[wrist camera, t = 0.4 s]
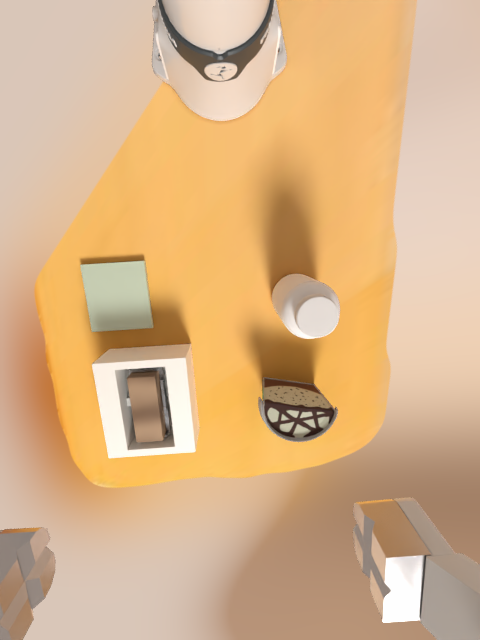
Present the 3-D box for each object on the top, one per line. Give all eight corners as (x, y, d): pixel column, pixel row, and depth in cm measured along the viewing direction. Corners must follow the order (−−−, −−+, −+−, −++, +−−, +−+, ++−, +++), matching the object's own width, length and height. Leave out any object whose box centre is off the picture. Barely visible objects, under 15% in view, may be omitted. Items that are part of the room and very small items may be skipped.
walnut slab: (132, 371, 51) (126, 378, 48) (158, 369, 51) (154, 376, 48) (141, 432, 53) (136, 442, 50) (166, 430, 53) (163, 440, 50)
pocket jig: (109, 349, 54) (91, 364, 47) (191, 343, 54) (185, 357, 48) (122, 433, 58) (108, 458, 51) (199, 427, 58) (195, 451, 51)
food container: (249, 407, 58) (253, 440, 48) (254, 375, 56) (260, 403, 46) (315, 415, 58) (332, 449, 49) (322, 384, 57) (341, 413, 47)
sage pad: (82, 264, 51) (80, 264, 50) (145, 260, 51) (143, 260, 50) (94, 330, 53) (92, 331, 53) (153, 326, 53) (152, 327, 53)
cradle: (130, 365, 52) (126, 371, 49) (163, 363, 52) (160, 368, 50) (140, 431, 54) (136, 438, 52) (171, 429, 54) (169, 436, 52)
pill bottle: (262, 306, 53) (274, 329, 39) (286, 264, 52) (309, 271, 37) (301, 328, 54) (328, 359, 40) (327, 287, 53) (364, 304, 38)
